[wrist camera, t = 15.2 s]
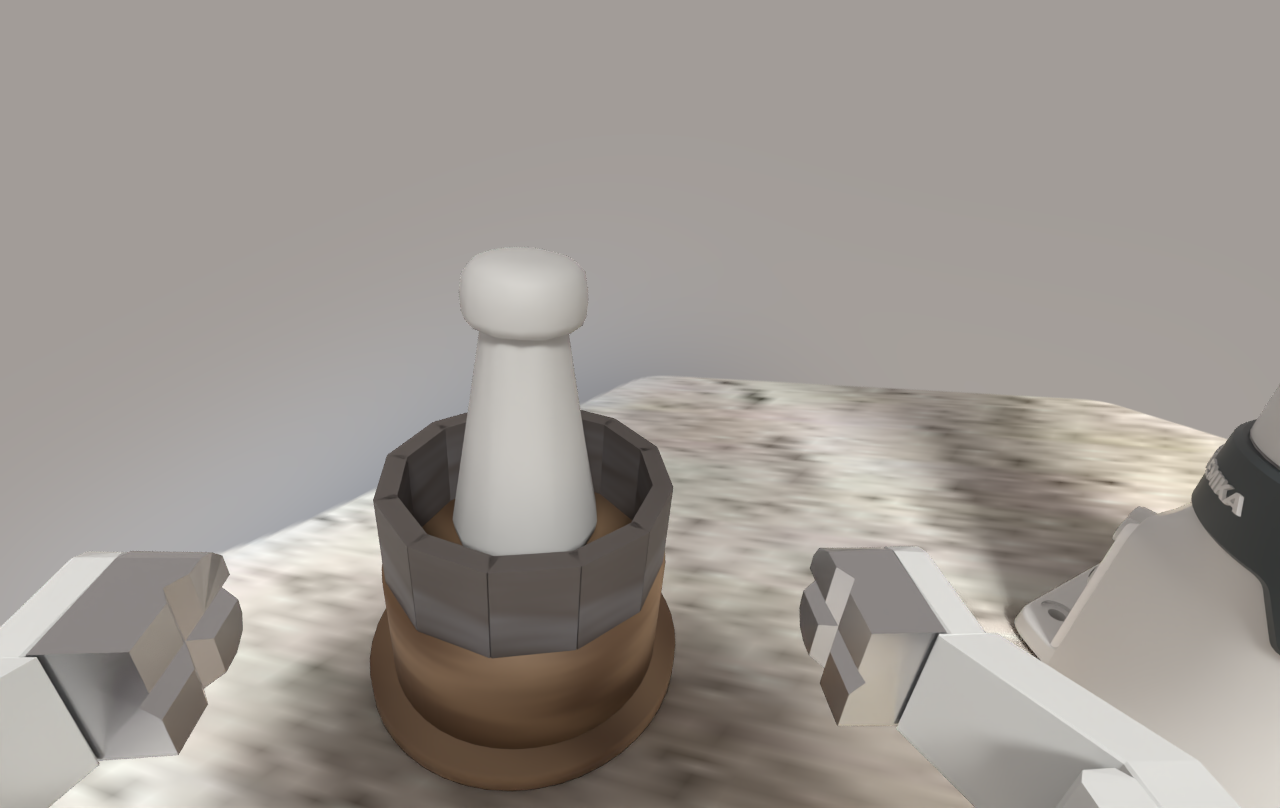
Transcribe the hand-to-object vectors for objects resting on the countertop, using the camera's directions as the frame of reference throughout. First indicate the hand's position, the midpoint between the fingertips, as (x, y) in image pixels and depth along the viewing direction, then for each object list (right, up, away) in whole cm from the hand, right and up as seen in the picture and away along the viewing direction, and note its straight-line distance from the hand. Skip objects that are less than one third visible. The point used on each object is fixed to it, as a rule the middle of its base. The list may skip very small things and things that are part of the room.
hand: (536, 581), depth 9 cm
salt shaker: (-3, -4, +18) cm, 18 cm away
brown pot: (-4, -9, +21) cm, 23 cm away
